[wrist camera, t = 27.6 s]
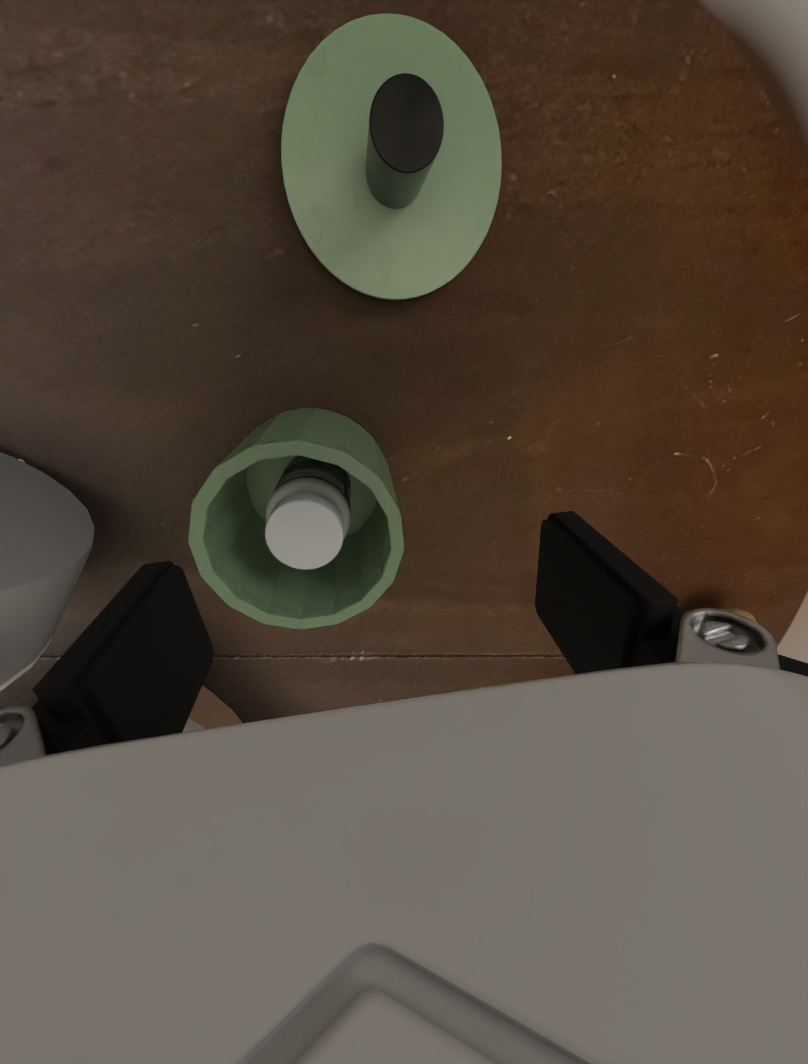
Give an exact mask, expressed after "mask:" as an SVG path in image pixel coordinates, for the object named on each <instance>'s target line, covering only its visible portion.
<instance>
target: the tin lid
mask: <svg viewBox="0 0 808 1064" xmlns="http://www.w3.org/2000/svg"><path fill="white" fill-rule="evenodd" d="M281 165H282V173H283V181H284V186H285V190H286V195H287V199H288V203H289V205H290V208H291V211H292V214H293V217H294V220H295V222H296V224H297V226H298V228H299V230H300V233H301V235H302V236H303V238H304V240H305V241H306V243H307V245H308V246H309V248H310V250H311V251H312V252H313V254H314V255H315V256H316V258H317V259H318V260H319V262H320V263H321V264H322V265H323V266H324V267H325V268H326V269H327V270H328V271H329V272H330V273H331V274H332V275H334V276H335V277H336V278H337V279H338V280H340V281H341V282H342V283H344V284H346V285H347V286H349V287H350V288H352V289H354V290H356V291H358V292H360V293H363V294H365V295H368V296H371V297H375V298H379V299H387V300H406V299H411V298H417V297H420V296H423V295H426V294H428V293H430V292H432V291H434V290H436V289H438V288H440V287H442V286H443V285H445V284H446V283H448V282H449V281H451V280H452V279H453V278H454V277H455V276H456V275H458V274H459V273H460V272H461V271H462V270H463V269H464V268H465V267H466V265H467V264H468V263H469V262H470V261H471V259H472V258H473V257H474V255H475V254H476V252H477V251H478V249H479V248H480V246H481V244H482V242H483V240H484V238H485V236H486V234H487V232H488V230H489V227H490V225H491V222H492V219H493V217H494V213H495V209H496V206H497V202H498V197H499V190H500V184H501V170H502V157H501V142H500V135H499V128H498V124H497V120H496V116H495V112H494V108H493V105H492V103H491V100H490V97H489V94H488V92H487V89H486V87H485V85H484V83H483V81H482V79H481V77H480V75H479V74H478V72H477V71H476V69H475V68H474V66H473V64H472V63H471V61H470V60H469V59H468V57H467V56H466V55H465V54H464V53H463V52H462V50H461V49H460V48H459V47H458V46H457V45H456V44H455V43H454V42H453V41H452V40H451V39H449V38H448V37H447V36H446V35H445V34H444V33H442V32H441V31H439V30H438V29H436V28H434V27H433V26H431V25H430V24H428V23H425V22H423V21H421V20H418V19H416V18H413V17H409V16H404V15H400V14H384V13H381V14H375V15H368V16H364V17H361V18H358V19H356V20H353V21H350V22H348V23H347V24H345V25H343V26H341V27H340V28H338V29H336V30H335V31H334V32H332V33H331V34H330V35H329V36H328V37H326V38H325V39H324V40H323V41H322V42H321V43H320V44H319V45H318V46H317V48H316V49H315V50H314V51H313V52H312V53H311V55H310V56H309V58H308V59H307V61H306V62H305V64H304V65H303V67H302V68H301V70H300V72H299V74H298V76H297V79H296V81H295V83H294V85H293V87H292V90H291V93H290V96H289V99H288V103H287V106H286V111H285V116H284V121H283V127H282V138H281Z"/></svg>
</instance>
